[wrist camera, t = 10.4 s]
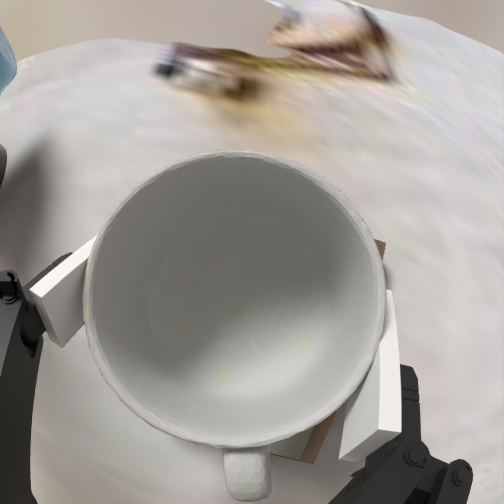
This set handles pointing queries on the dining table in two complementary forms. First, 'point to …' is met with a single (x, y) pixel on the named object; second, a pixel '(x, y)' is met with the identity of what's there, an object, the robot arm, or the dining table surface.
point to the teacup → (234, 304)
